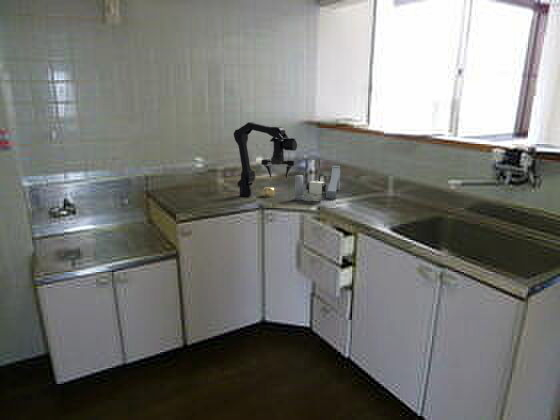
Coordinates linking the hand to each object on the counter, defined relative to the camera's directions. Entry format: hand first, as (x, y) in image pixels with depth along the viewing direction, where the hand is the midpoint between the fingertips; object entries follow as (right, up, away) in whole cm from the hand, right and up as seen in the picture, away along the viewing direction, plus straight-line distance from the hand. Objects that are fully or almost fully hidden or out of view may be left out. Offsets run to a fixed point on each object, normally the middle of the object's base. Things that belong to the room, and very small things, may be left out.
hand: (278, 177), depth 219 cm
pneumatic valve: (+22, -13, +1) cm, 26 cm away
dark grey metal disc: (+12, -13, +4) cm, 18 cm away
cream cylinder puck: (-6, -10, +14) cm, 18 cm away
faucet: (+34, -9, +20) cm, 40 cm away
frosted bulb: (+12, -12, +3) cm, 17 cm away
